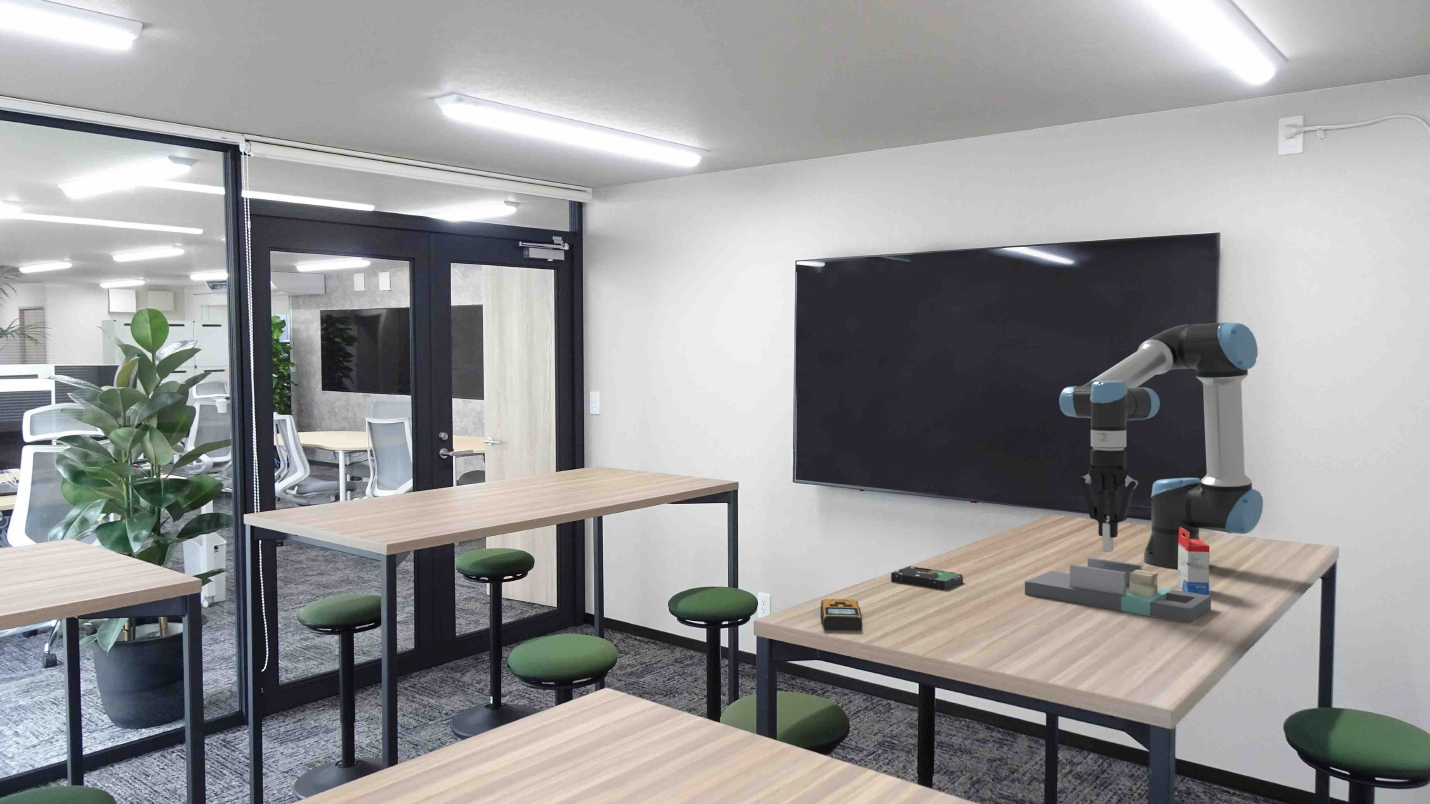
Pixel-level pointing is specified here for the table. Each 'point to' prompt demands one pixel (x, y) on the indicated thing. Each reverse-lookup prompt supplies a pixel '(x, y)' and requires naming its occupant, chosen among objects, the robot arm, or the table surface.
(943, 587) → the disk drive
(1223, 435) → the robot arm
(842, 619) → the electronic device
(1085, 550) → the table surface
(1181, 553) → the ink box
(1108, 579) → the tunnel deck
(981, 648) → the table surface
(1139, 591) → the brass block
